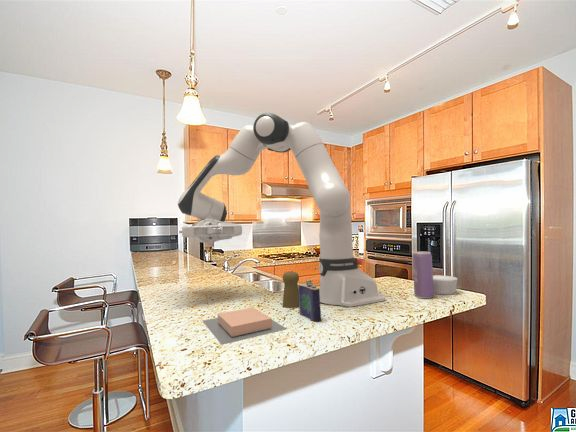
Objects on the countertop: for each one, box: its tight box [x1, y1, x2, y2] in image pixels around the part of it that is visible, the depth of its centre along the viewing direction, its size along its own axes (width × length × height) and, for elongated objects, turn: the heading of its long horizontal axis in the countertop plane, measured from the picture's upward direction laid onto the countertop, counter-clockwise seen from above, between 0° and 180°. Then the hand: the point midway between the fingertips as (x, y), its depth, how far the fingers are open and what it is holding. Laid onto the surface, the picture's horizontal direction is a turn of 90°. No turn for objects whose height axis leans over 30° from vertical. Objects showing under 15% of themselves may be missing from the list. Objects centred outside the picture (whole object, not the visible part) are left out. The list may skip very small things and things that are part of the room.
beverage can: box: [411, 251, 435, 300], centre depth 95 cm, size 6×6×15 cm
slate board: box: [202, 317, 288, 346], centre depth 72 cm, size 16×19×1 cm
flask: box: [298, 278, 322, 323], centre depth 76 cm, size 9×3×11 cm, turn 26°
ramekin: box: [433, 274, 459, 296], centre depth 101 cm, size 11×11×5 cm
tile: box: [217, 306, 273, 337], centre depth 71 cm, size 10×2×12 cm
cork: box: [282, 271, 300, 309], centre depth 88 cm, size 6×6×11 cm
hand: (218, 230), depth 91 cm, fingers closed
